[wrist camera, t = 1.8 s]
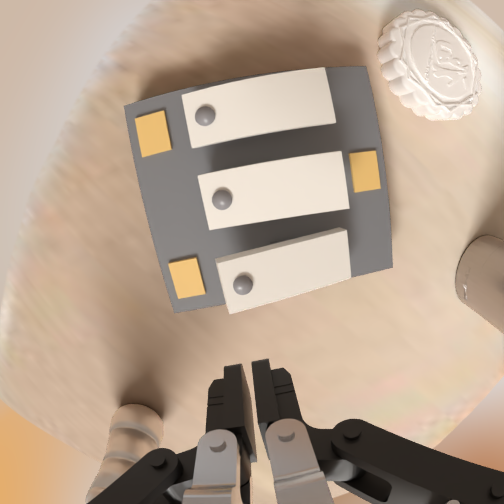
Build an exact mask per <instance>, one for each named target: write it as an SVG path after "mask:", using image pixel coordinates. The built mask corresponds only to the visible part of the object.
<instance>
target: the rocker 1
mask: <svg viewBox="0 0 504 504" xmlns="http://www.w3.org/2000/svg"><path fill="white" fill-rule="evenodd" d="M182 101H183V106H184V111H185V117H186V122H187V127H188V132H189V137H190V142H191V147H192V148H199V147H203V146H208V145H212V144H217V143H221V142H226V141H231V140H236V139H240V138H246V137H251V136H256V135H261V134H267V133H273V132H279V131H285V130H291V129H298V128H305V127H312V126H319V125H327V124H334V123H336V118H335V113H334V108H333V103H332V98H331V93H330V89H329V84H328V80H327V75H326V71H325V67H321V68H312V69H304V70H297V71H290V72H283V73H277V74H271V75H265V76H260V77H254V78H249V79H244V80H240V81H235V82H230V83H226V84H222V85H218V86H213V87H209V88H205V89H202V90H198V91H194V92H190V93H187V94H183V95H182Z"/></svg>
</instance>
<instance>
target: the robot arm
mask: <svg viewBox="0 0 504 504" xmlns="http://www.w3.org/2000/svg"><path fill="white" fill-rule="evenodd" d="M456 291H457V295H458V297H459V299H460V300H461V301H462V302H463V303H464V304H466V305H467V306H468V307H470V308H471V309H472V310H474V311H475V312H476V313H478V314H479V315H480V316H481V317H483V318H484V319H485V320H487V321H488V322H489V323H491V324H492V325H493V326H494V327H496V328H497V329H498V330H499V331H501V332H502V333H503V334H504V241H503V240H501V239H499V238H496V237H494V236H491V235H484V236H481V237H479V238H477V239H476V240H475V241H473V242H472V243H471V244H470V246H469V247H468V248H467V249H466V251H465V253H464V254H463V256H462V258H461V261H460V263H459V266H458V269H457V274H456ZM252 372H253V382H254V391H255V400H256V409H257V419H258V425H259V428H260V432H261V435H262V439H263V442H264V445H265V449H266V452H267V455H268V459H269V460H270V463H271V468H272V473H273V478H274V488H275V493H276V498H277V503H278V504H334V502H333V499H332V496H331V493H330V490H329V487H328V484H327V481H334V482H335V483H336V484H337V485H339V486H340V487H342V488H344V489H346V490H347V491H349V492H351V493H353V494H355V495H357V496H358V497H360V498H362V499H364V500H366V501H368V502H370V503H372V504H504V472H501V471H498V470H494V469H491V468H487V467H484V466H481V465H477V464H474V463H471V462H468V461H465V460H462V459H459V458H456V457H453V456H450V455H447V454H445V453H441V452H439V451H436V450H434V449H431V448H428V447H426V446H423V445H420V444H418V443H415V442H413V441H410V440H408V439H405V438H403V437H400V436H398V435H395V434H393V433H391V432H388V431H386V430H384V429H381V428H379V427H377V426H374V425H372V424H370V423H368V422H366V421H363V420H360V419H348V420H344V421H342V422H340V423H338V424H337V425H336V426H335V427H334V428H333V429H317V428H313V427H311V426H309V425H307V424H306V423H305V422H304V420H303V419H302V416H301V412H300V408H299V405H298V401H297V397H296V393H295V390H294V386H293V382H292V378H291V375H290V373H289V372H287V371H286V370H285V369H284V368H279V369H274V370H271V368H270V363H269V359H263V360H258V361H253V362H252ZM207 405H208V407H207V418H206V433H205V435H203V436H202V437H201V439H200V440H199V442H198V446H196V447H195V448H193V449H191V450H188V451H185V452H182V453H179V454H175V453H174V452H173V451H172V450H170V449H166V448H158V449H154V450H152V451H150V452H148V453H147V454H146V455H144V456H143V457H142V458H141V459H140V460H139V461H138V462H136V463H135V464H134V465H133V466H132V467H131V468H130V469H128V470H127V471H126V472H125V473H124V474H123V475H121V476H120V477H119V478H118V479H117V480H115V481H114V482H113V483H112V484H111V485H109V486H108V487H107V488H106V489H104V490H103V491H102V492H101V493H100V494H98V495H97V496H96V497H95V498H93V499H92V500H91V501H90V502H88V503H87V504H253V485H252V476H251V463H252V462H257V455H256V445H255V434H254V424H253V413H252V403H251V397H250V392H249V388H248V384H247V381H246V377H245V373H244V370H243V366H242V364H236V365H230V366H225V367H224V379H217V380H214V381H213V382H212V384H211V386H210V387H209V390H208V403H207Z"/></svg>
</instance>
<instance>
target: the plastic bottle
mask: <svg viewBox="0 0 504 504" xmlns="http://www.w3.org/2000/svg"><path fill="white" fill-rule="evenodd" d="M163 435H164V430H163V422H162V420H161V419H160V417H159V416H158V414H157V413H156V412H155V411H153V410H152V409H150V408H148V407H146V406H144V405H140V404H127V405H125V406H122V407H120V408H119V409H118V410H117V411H116V412H115V414H114V415H113V417H112V419H111V424H110V435H109V440H108V444H107V449H106V454H105V457H104V459H103V462H102V464H101V467H100V470H99V472H98V474H97V476H96V478H95V480H94V482H93V483H92V485H91V487H90V490H89V491H88V494H87V496H86V504H87V503H88V502H90V501H91V500H92V499H93V498H95V497H96V496H97V495H98V494H100V493H101V492H102V491H103V490H104V489H106V488H107V487H108V486H109V485H111V484H112V483H113V482H114V481H115V480H117V479H118V478H119V477H120V476H121V475H123V474H124V473H125V472H126V471H127V470H128V469H130V468H131V467H132V466H133V465H134V464H135V463H136V462H138V461H139V460H140V459H141V458H142V457H143V456H144V455H146V454H147V453H148V452H150V451H152V450H154V449H158V448H159V446H160V444H161V441H162V439H163Z"/></svg>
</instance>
